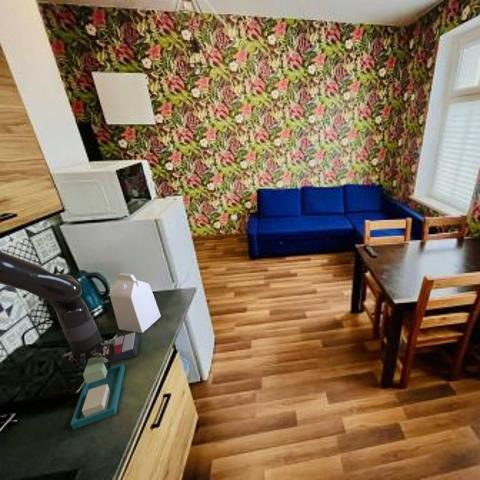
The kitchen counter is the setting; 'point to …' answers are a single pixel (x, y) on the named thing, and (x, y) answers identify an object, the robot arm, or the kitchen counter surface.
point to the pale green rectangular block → (94, 370)
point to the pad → (96, 400)
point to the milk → (133, 304)
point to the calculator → (124, 346)
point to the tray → (114, 384)
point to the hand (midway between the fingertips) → (98, 371)
